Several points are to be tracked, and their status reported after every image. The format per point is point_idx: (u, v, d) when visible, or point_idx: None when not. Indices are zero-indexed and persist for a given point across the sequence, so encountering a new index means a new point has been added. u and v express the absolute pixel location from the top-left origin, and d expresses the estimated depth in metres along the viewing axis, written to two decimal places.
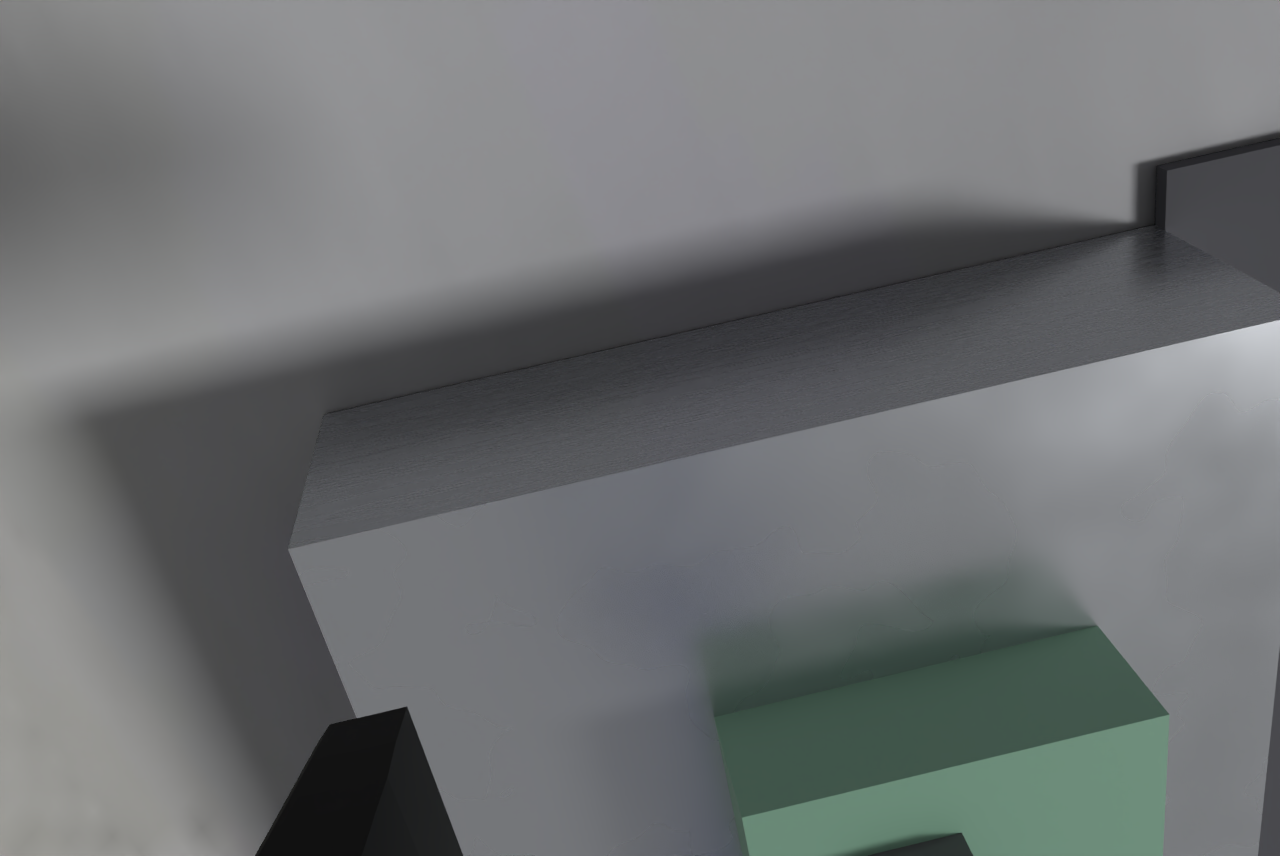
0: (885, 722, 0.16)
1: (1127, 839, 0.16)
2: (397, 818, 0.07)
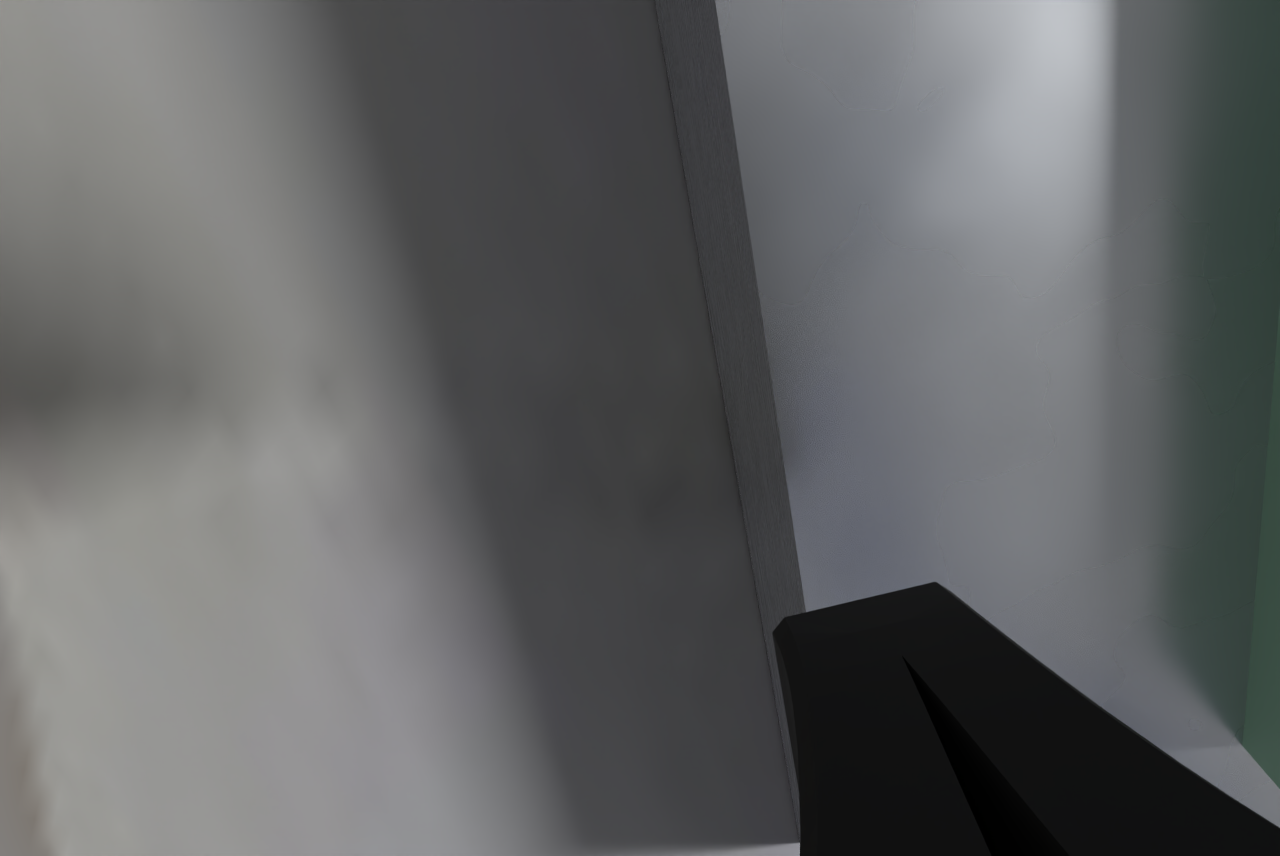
0: None
1: None
2: None
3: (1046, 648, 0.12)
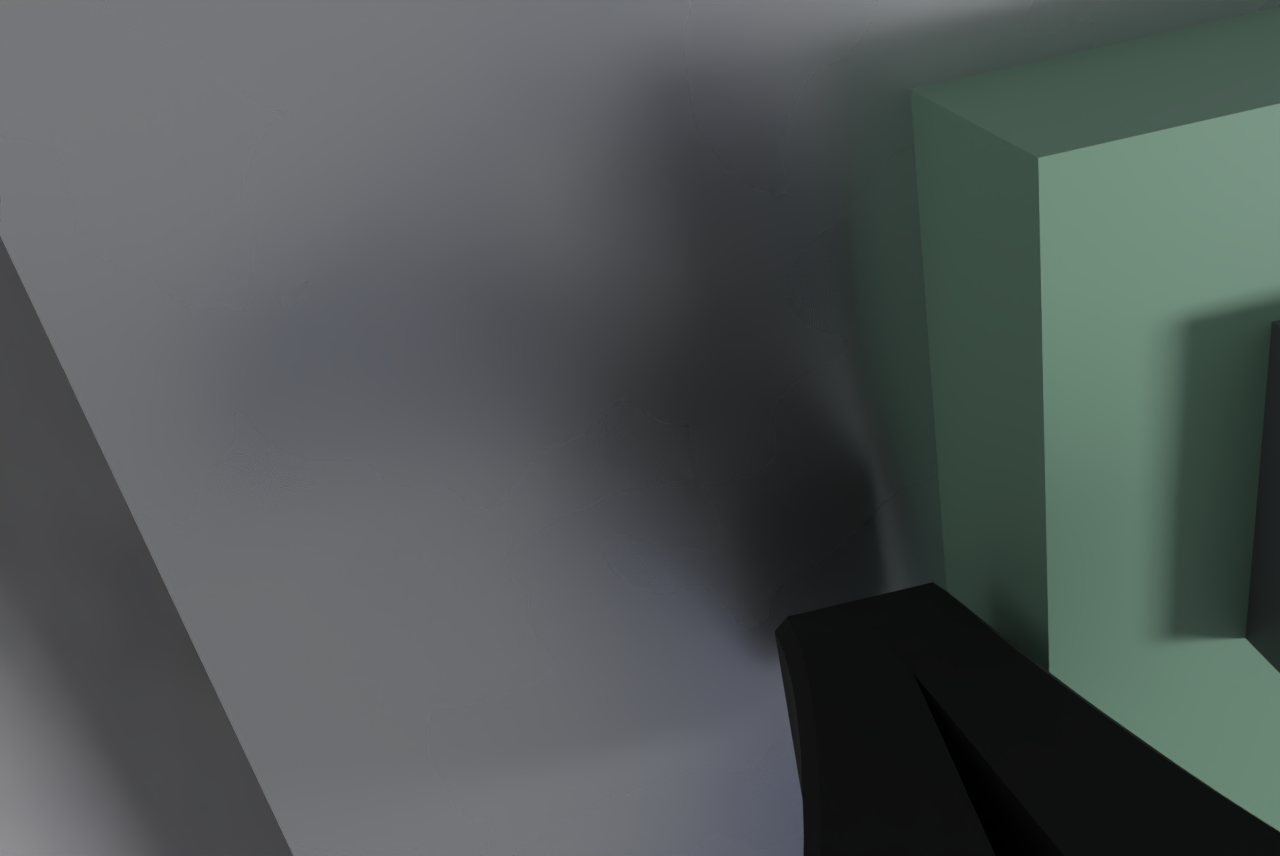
0: None
1: None
2: None
3: None
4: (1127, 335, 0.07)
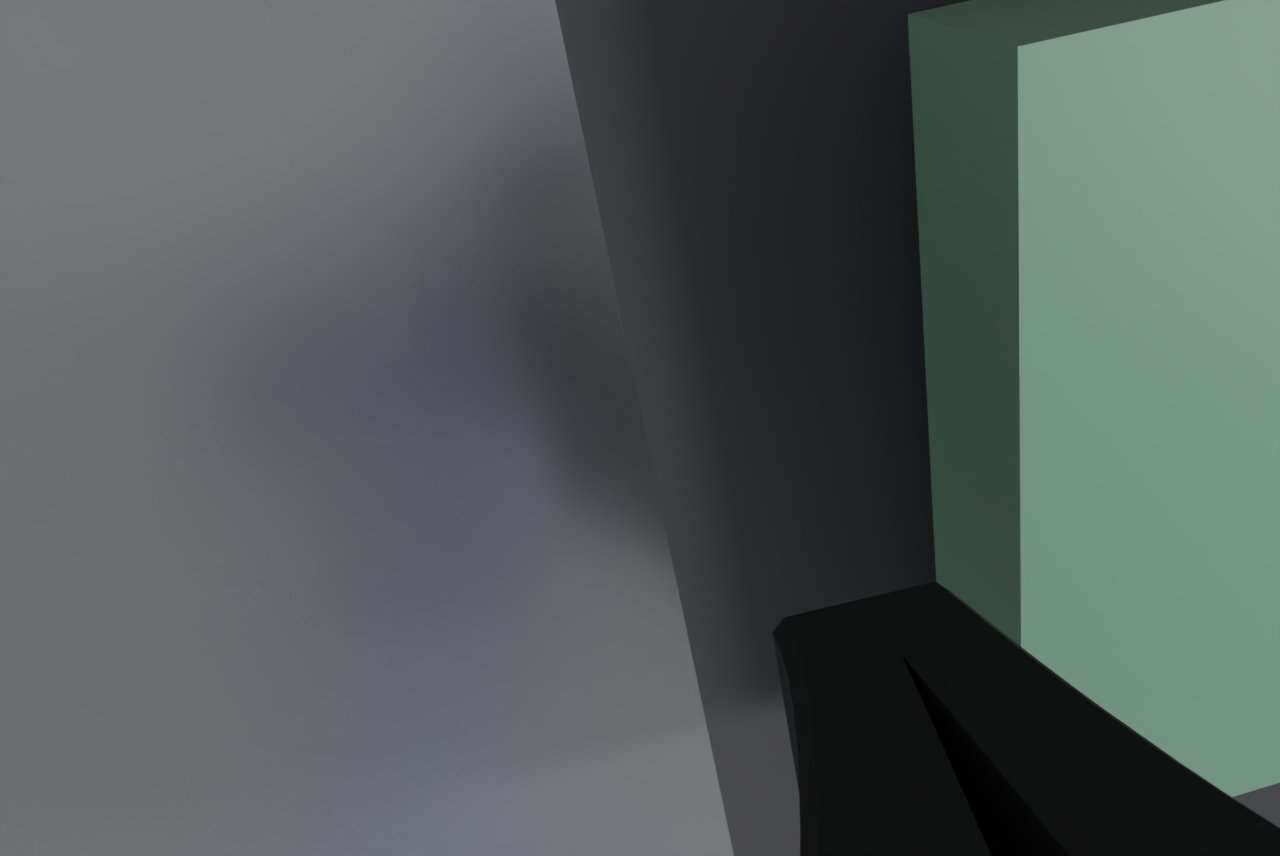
0: None
1: None
2: None
3: None
4: None
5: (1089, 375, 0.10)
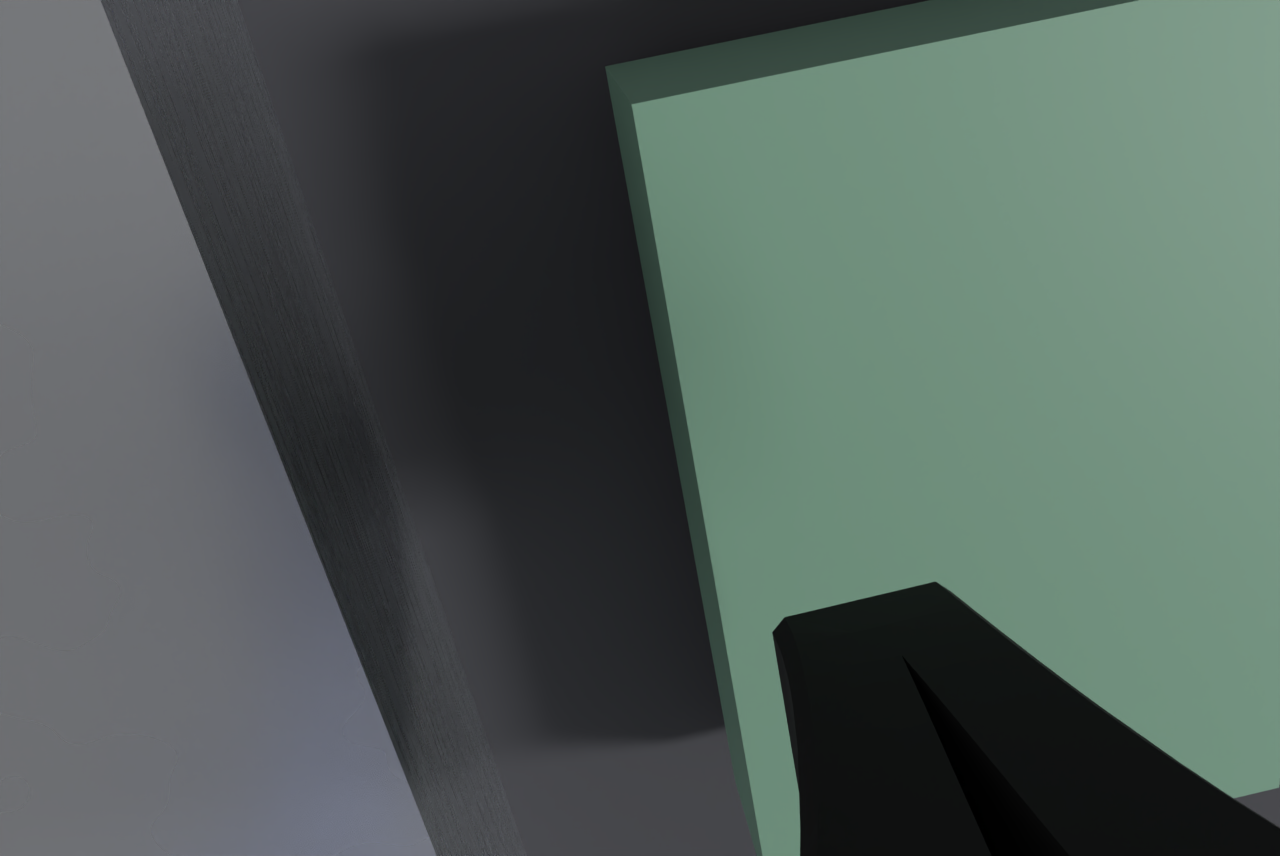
0: (1034, 0, 0.10)
1: None
2: None
3: None
4: None
5: (763, 425, 0.10)
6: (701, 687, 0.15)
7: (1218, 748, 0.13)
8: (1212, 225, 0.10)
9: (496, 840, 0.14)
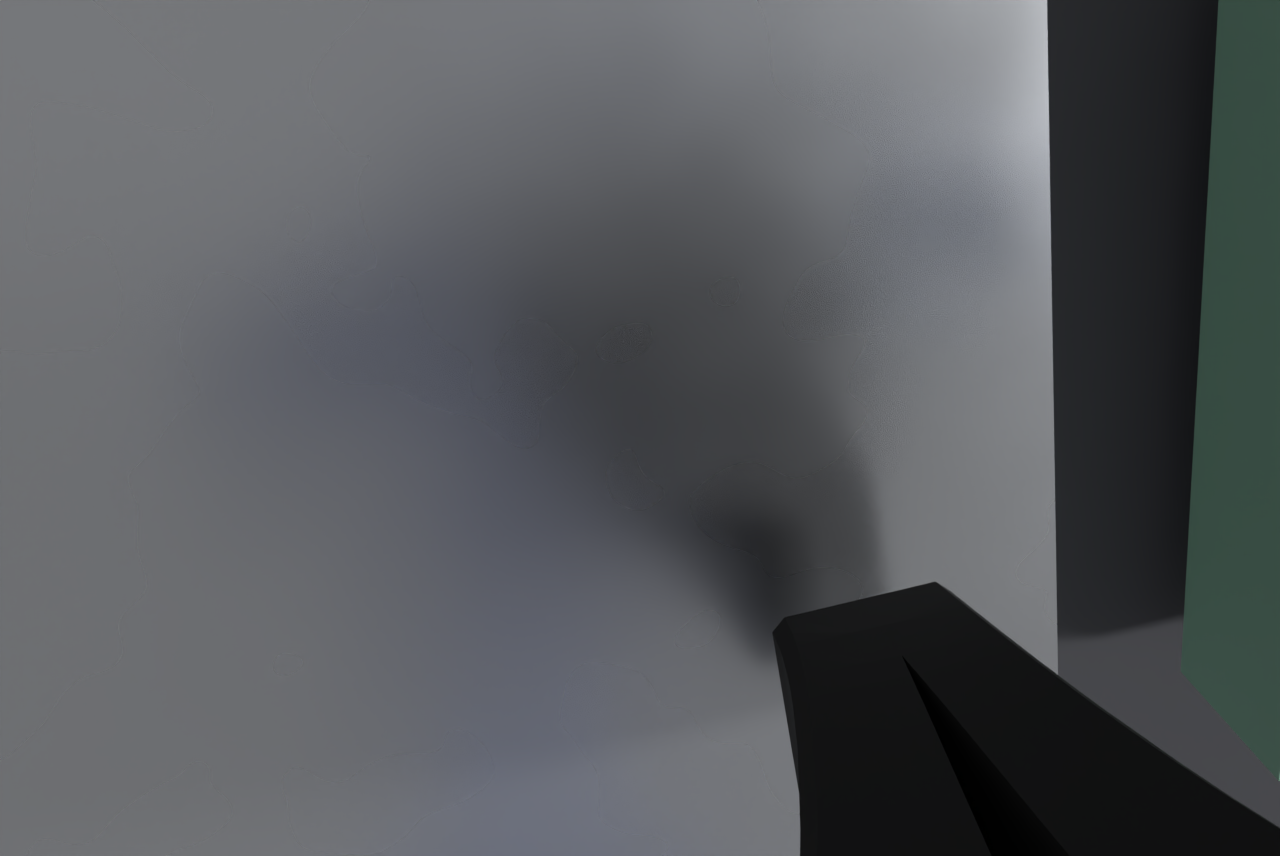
0: None
1: None
2: None
3: None
4: None
5: None
6: (1140, 581, 0.15)
7: None
8: None
9: None
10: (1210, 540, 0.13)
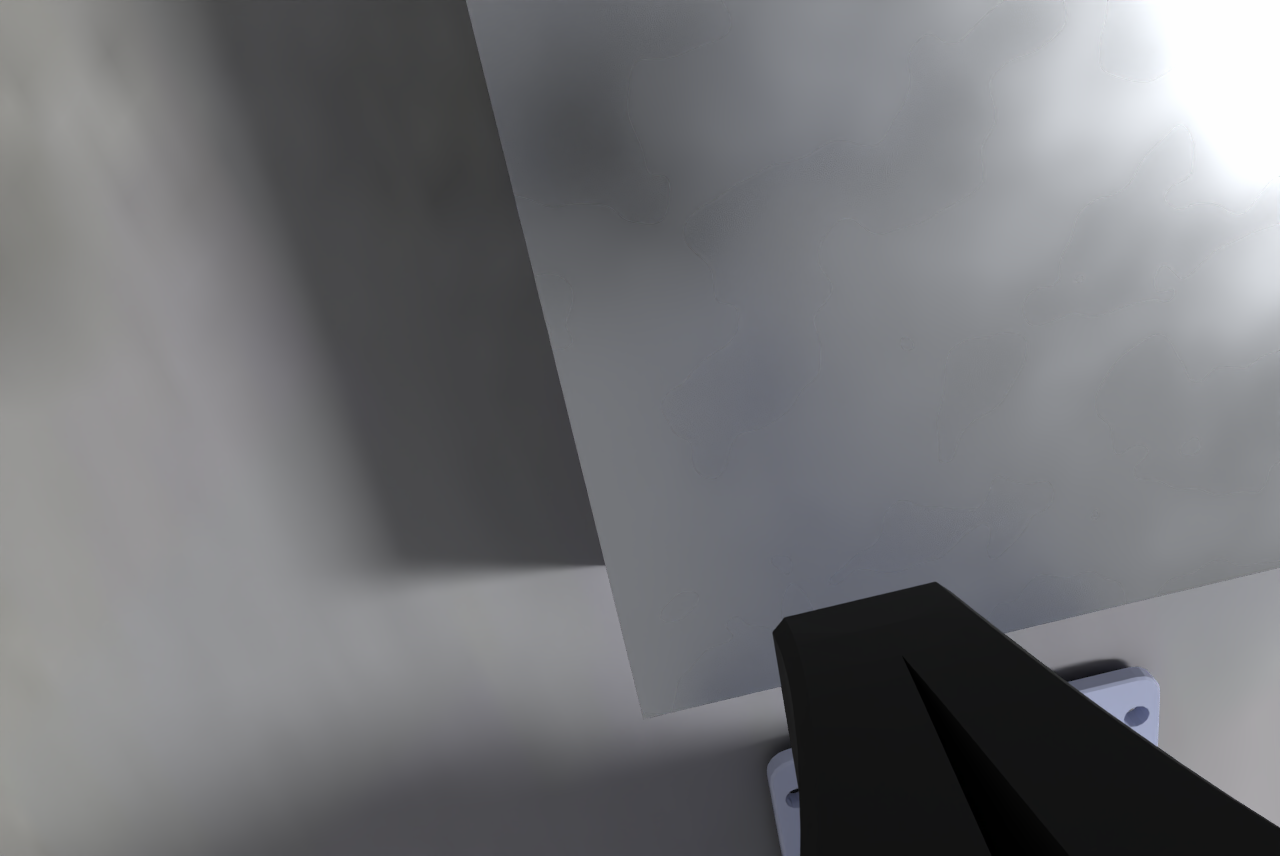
0: None
1: None
2: None
3: (751, 250, 0.13)
4: None
5: None
6: None
7: None
8: None
9: None
10: None
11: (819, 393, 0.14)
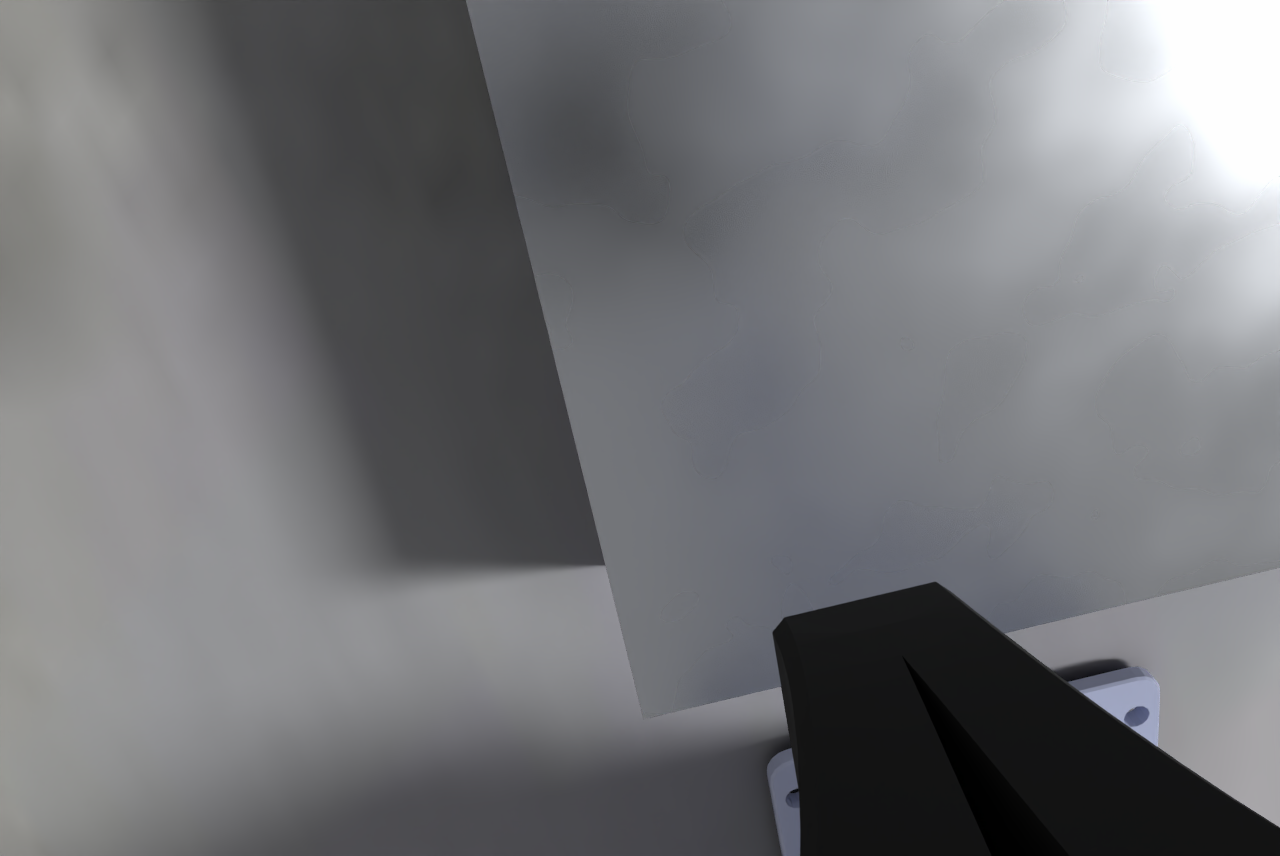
0: None
1: None
2: None
3: (751, 250, 0.13)
4: None
5: None
6: None
7: None
8: None
9: None
10: None
11: (819, 393, 0.14)
